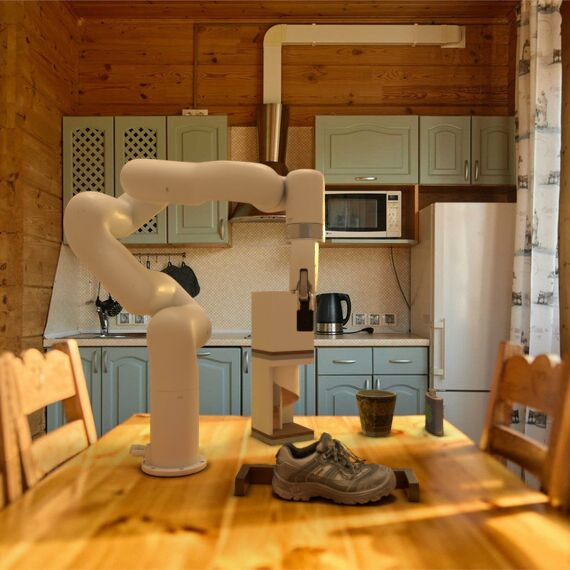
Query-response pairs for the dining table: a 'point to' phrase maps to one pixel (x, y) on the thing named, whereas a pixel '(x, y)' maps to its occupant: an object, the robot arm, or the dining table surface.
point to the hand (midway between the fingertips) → (305, 331)
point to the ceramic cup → (376, 411)
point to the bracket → (265, 474)
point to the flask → (433, 413)
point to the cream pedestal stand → (277, 366)
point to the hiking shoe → (329, 473)
